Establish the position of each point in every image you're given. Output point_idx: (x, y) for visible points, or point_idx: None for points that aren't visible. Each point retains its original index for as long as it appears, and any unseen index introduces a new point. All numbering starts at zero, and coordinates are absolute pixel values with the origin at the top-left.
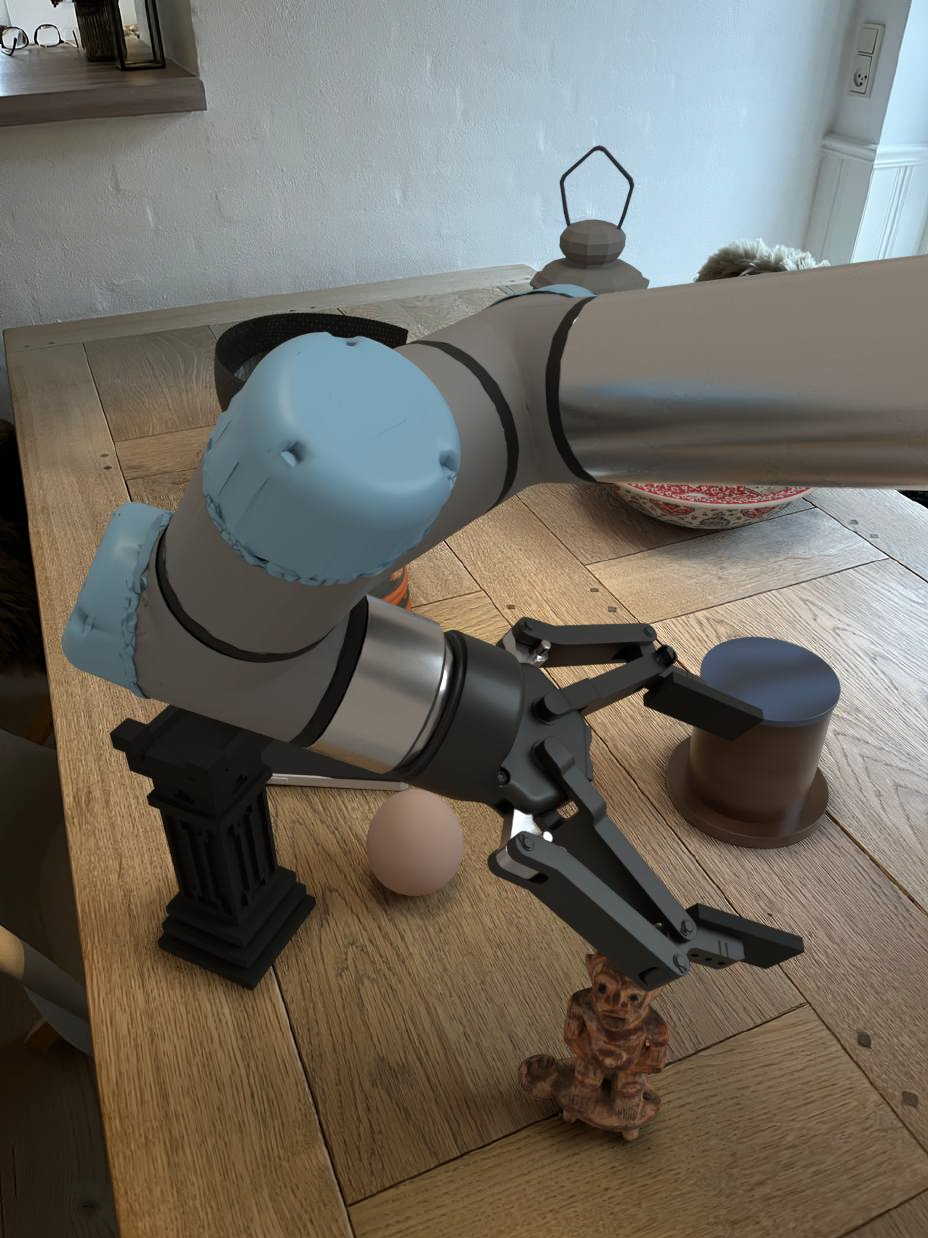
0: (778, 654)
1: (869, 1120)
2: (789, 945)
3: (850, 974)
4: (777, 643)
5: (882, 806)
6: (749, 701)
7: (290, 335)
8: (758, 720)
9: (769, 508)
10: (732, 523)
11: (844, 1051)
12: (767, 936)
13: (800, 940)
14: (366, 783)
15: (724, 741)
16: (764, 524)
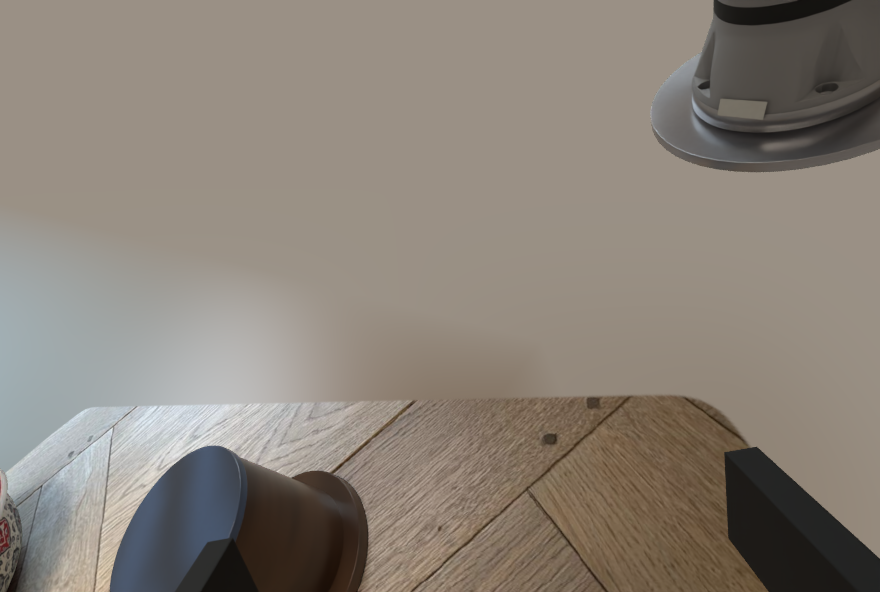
0: (151, 516)
1: (628, 433)
2: (783, 476)
3: (488, 451)
4: (137, 518)
5: (327, 428)
6: None
7: None
8: (231, 551)
9: (4, 529)
10: (4, 570)
11: (567, 455)
12: (833, 529)
13: (736, 455)
14: None
15: None
16: (33, 534)
